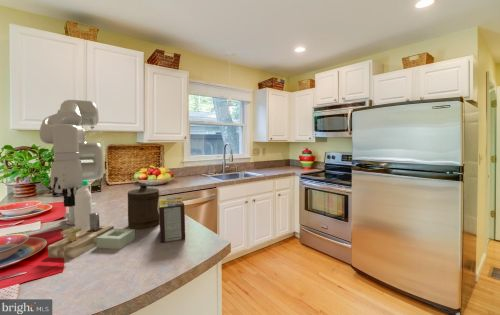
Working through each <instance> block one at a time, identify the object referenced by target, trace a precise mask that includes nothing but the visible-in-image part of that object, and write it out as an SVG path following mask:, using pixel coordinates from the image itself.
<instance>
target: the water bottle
mask: <svg viewBox="0 0 500 315" xmlns="http://www.w3.org/2000/svg"><path fill="white" fill-rule="evenodd" d="M87 186H88V187H89V180H83V184H82V185H81V188H80V189H78V190H77V191H76V195H75V206H74V216H75V225H74V226H75V227H74V228H81V231H82V230H84V229H86V228H89V227H90V218H89V214H91V213H93V201H92V193H91V192H89V191H90V189H89V190H88V188H87ZM79 232H80V231H79ZM77 233H78V232H77Z"/></svg>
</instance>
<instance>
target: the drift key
mask: <svg viewBox="0 0 500 315" xmlns="http://www.w3.org/2000/svg"><path fill="white" fill-rule="evenodd" d="M79 231H81V228H75V227H69V228H67V229H64V230H62V231H60V234H61V236H62V235H64V236H65V235H66V238H67V243H73V242H75V241H76V233H77V232H79Z"/></svg>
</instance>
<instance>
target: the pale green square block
mask: <svg viewBox="0 0 500 315" xmlns="http://www.w3.org/2000/svg"><path fill="white" fill-rule="evenodd" d="M135 239H136V229H130V228H128V229H127V228H126V229H125V228H114V229H112V230H110V231H108V232H106V233H104V234H103V235H101V236H99V237H97V238H96V240H97V245H96V248H97V249H113V250H114V249H115V250H117V249H118V250H121V249H123V248H124V247H126V246H127V245H129V244H130V243H131V242H133V241H134V240H135Z"/></svg>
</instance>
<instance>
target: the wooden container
mask: <svg viewBox="0 0 500 315" xmlns="http://www.w3.org/2000/svg"><path fill="white" fill-rule="evenodd" d="M159 199H160V190H159V188H153V187H148V184H147V183H145V182H142V183H140V184H139V188H136V189H132V190H129V191H128V192H127V227H128V229H133V230H135V231H137V230H138V231H139V230H146V229H147V230H148V229H152V228H154V227H157V226H160V220H159Z"/></svg>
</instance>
